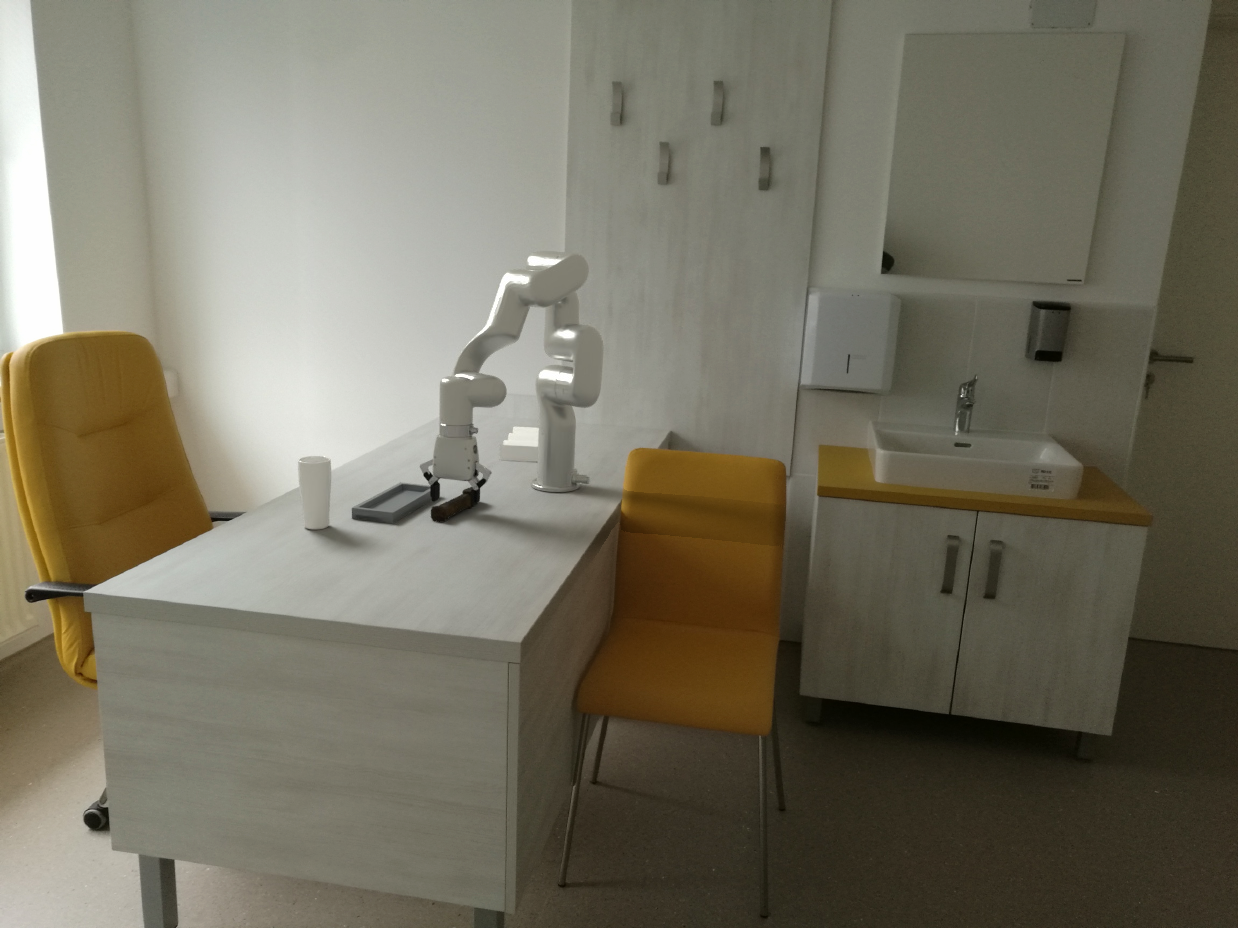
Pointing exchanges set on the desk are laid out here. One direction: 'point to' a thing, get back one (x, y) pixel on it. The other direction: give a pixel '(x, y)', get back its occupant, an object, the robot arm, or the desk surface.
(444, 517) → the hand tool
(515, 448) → the file organizer
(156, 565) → the desk surface
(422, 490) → the tray
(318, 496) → the white tumbler
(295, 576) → the desk surface
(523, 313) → the robot arm
